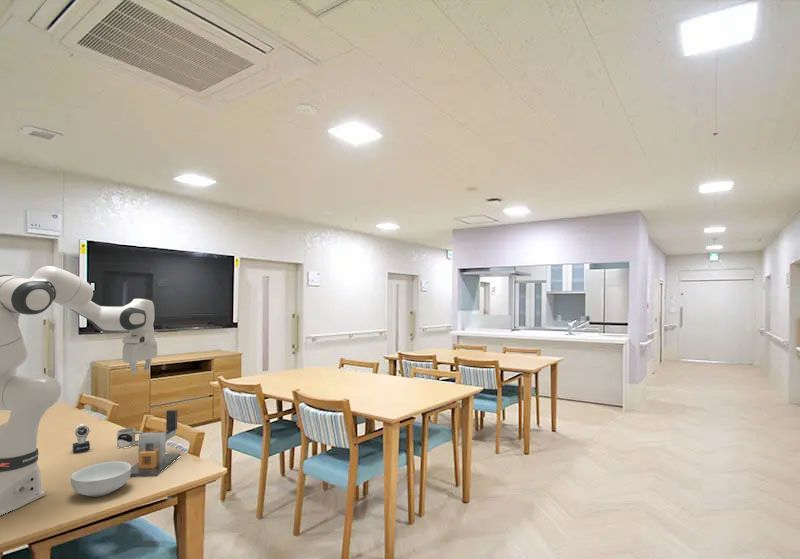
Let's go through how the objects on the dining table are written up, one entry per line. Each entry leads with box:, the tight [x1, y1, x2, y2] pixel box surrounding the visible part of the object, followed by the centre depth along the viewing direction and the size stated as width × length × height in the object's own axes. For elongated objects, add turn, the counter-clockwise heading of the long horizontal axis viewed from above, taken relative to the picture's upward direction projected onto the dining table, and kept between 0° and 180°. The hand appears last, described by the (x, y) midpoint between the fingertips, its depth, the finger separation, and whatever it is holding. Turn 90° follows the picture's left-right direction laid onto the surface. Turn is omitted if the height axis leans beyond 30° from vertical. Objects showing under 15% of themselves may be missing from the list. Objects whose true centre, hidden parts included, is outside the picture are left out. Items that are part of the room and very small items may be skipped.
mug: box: [116, 427, 144, 449], centre depth 198 cm, size 10×7×7 cm
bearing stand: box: [129, 431, 182, 478], centre depth 174 cm, size 20×12×12 cm, turn 2°
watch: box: [72, 423, 91, 454], centre depth 191 cm, size 6×8×11 cm
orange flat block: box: [138, 451, 157, 468], centre depth 170 cm, size 2×6×6 cm, turn 92°
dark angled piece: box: [150, 409, 179, 448], centre depth 182 cm, size 16×4×10 cm, turn 2°
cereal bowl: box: [70, 460, 132, 498], centre depth 152 cm, size 17×17×7 cm
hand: (140, 371), depth 188 cm, fingers open, 8 cm apart
